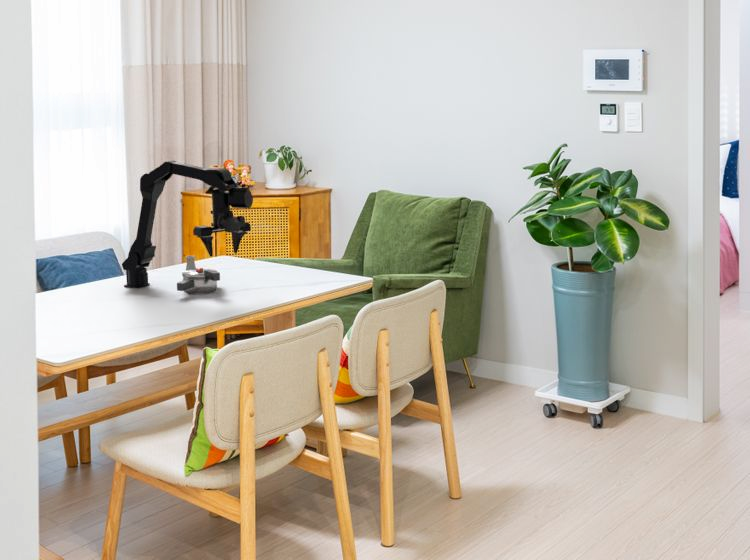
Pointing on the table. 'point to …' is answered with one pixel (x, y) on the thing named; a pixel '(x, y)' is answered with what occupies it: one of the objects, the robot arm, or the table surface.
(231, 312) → the table surface
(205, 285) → the pot
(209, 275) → the lid
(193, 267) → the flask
